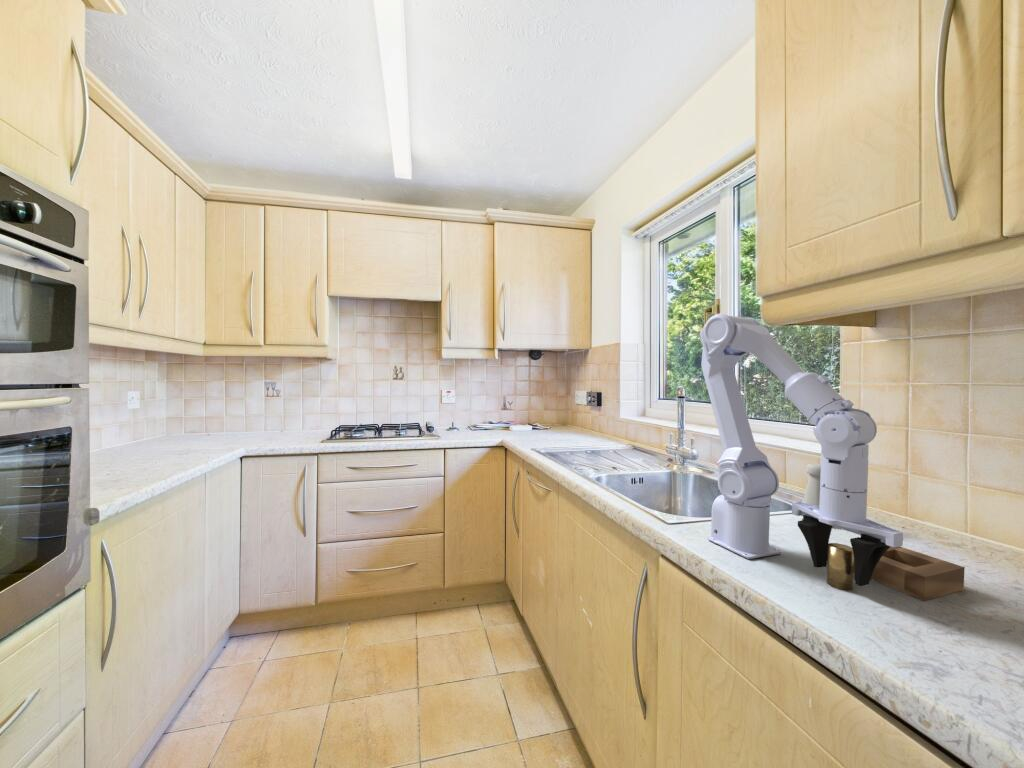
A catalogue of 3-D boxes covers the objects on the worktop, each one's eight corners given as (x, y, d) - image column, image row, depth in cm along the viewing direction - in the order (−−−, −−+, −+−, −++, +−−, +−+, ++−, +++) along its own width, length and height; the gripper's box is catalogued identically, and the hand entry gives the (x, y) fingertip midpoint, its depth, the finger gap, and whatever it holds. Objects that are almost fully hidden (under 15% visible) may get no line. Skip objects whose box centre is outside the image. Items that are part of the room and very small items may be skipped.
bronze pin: (821, 582, 66) (823, 544, 65) (835, 579, 67) (836, 541, 67) (844, 592, 63) (845, 552, 62) (858, 588, 64) (859, 550, 64)
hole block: (848, 570, 70) (849, 549, 70) (886, 561, 73) (887, 542, 73) (924, 600, 60) (925, 577, 60) (963, 589, 64) (964, 567, 64)
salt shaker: (819, 517, 96) (821, 461, 96) (839, 526, 90) (841, 467, 90) (794, 517, 96) (796, 461, 96) (813, 526, 90) (815, 466, 90)
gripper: (779, 478, 70) (777, 558, 70) (881, 504, 56) (878, 603, 56) (809, 475, 72) (806, 553, 72) (913, 499, 59) (910, 595, 59)
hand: (840, 575), depth 65 cm, fingers open, 5 cm apart
